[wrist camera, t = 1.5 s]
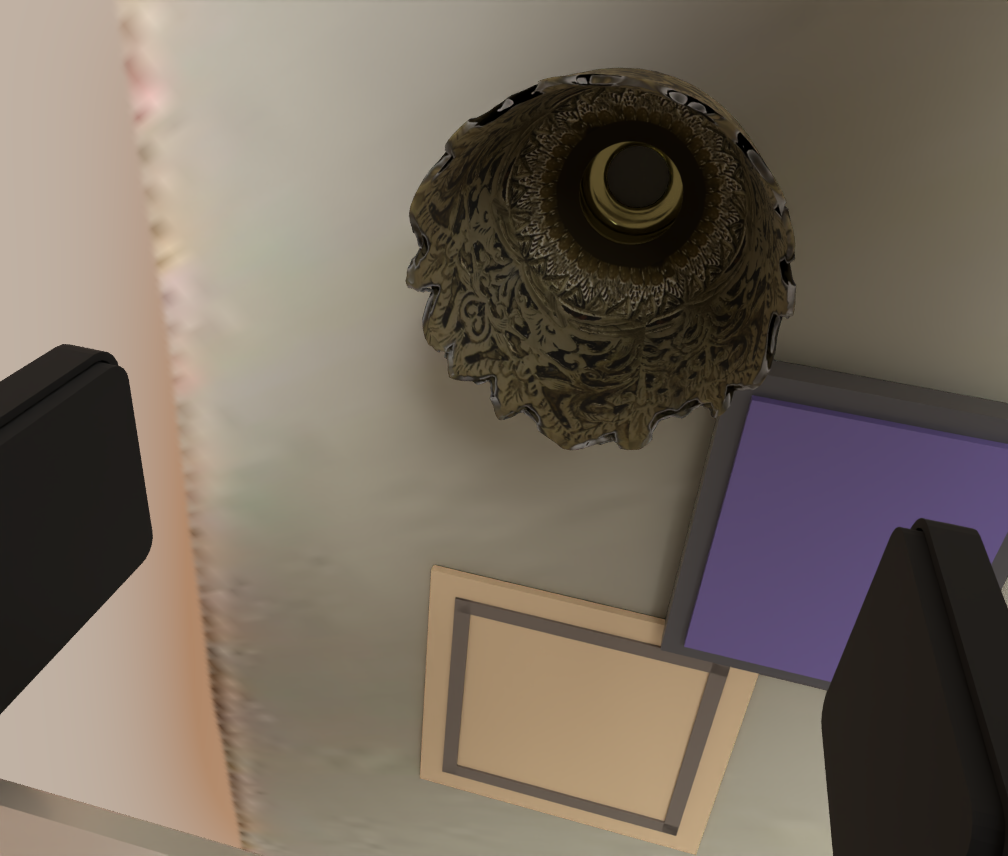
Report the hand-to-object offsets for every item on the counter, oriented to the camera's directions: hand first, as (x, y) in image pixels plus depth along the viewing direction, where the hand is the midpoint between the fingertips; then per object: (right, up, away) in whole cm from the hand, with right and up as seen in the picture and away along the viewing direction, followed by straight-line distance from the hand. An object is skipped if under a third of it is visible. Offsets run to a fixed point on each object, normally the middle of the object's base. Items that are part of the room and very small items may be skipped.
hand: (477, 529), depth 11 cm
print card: (+3, -10, +23) cm, 26 cm away
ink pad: (+11, -2, +16) cm, 20 cm away
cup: (+4, +8, +13) cm, 16 cm away
